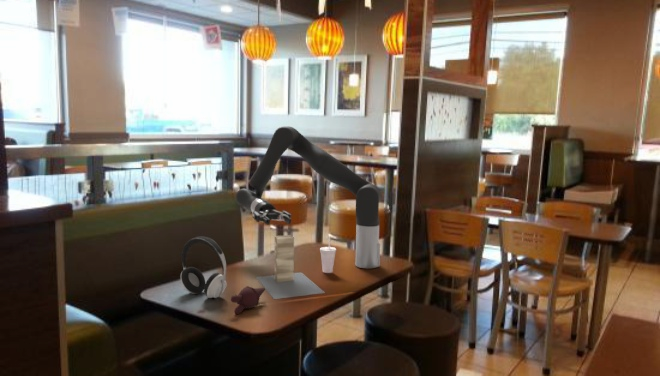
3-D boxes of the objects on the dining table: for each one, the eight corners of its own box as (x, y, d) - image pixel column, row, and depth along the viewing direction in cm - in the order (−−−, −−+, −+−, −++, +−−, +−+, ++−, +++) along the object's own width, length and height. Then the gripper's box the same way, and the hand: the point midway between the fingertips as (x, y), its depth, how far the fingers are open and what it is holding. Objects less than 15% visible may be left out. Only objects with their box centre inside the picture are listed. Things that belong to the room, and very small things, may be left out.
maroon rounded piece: (253, 278, 162) (221, 295, 150) (270, 277, 158) (239, 295, 146) (258, 299, 163) (227, 317, 150) (275, 298, 159) (244, 317, 146)
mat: (255, 278, 182) (255, 277, 182) (301, 273, 189) (301, 272, 189) (274, 300, 160) (274, 299, 160) (325, 294, 167) (325, 292, 167)
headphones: (234, 297, 163) (233, 238, 160) (216, 305, 155) (215, 243, 153) (191, 286, 172) (191, 230, 169) (173, 293, 165) (172, 235, 162)
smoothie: (334, 276, 187) (334, 240, 185) (317, 274, 188) (318, 239, 187) (337, 271, 193) (338, 236, 192) (321, 269, 195) (321, 235, 193)
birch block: (274, 278, 181) (274, 236, 179) (289, 276, 183) (290, 234, 181) (277, 282, 177) (277, 238, 175) (293, 280, 179) (293, 237, 177)
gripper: (247, 200, 193) (262, 212, 180) (280, 200, 201) (297, 211, 187) (245, 218, 195) (260, 232, 181) (278, 217, 202) (295, 230, 189)
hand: (279, 221), depth 184 cm, fingers open, 8 cm apart
